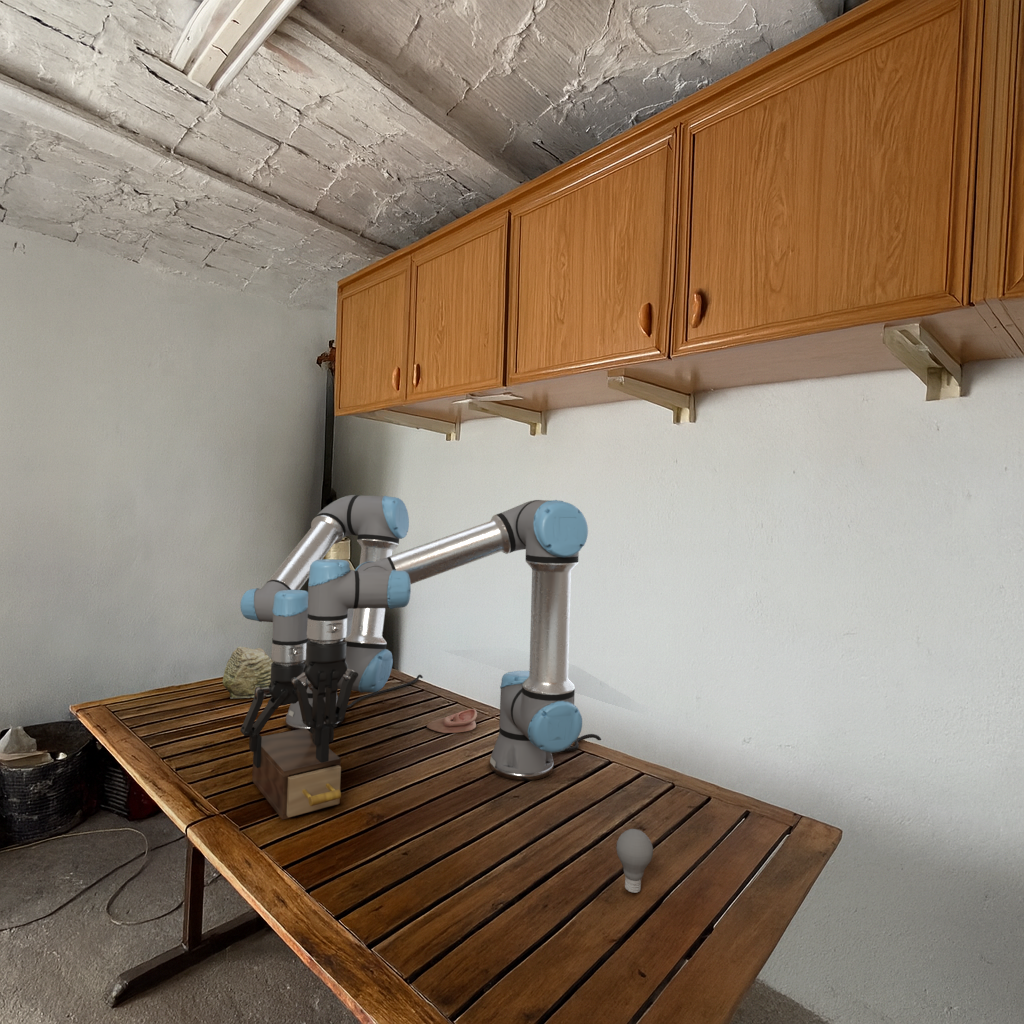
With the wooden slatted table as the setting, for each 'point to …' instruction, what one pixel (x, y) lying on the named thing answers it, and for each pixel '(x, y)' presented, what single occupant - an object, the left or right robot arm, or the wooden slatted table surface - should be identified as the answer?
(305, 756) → the cabinet
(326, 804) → the drawer
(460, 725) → the anatomical model
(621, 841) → the light bulb
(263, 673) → the fossil
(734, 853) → the wooden slatted table surface
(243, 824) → the wooden slatted table surface
